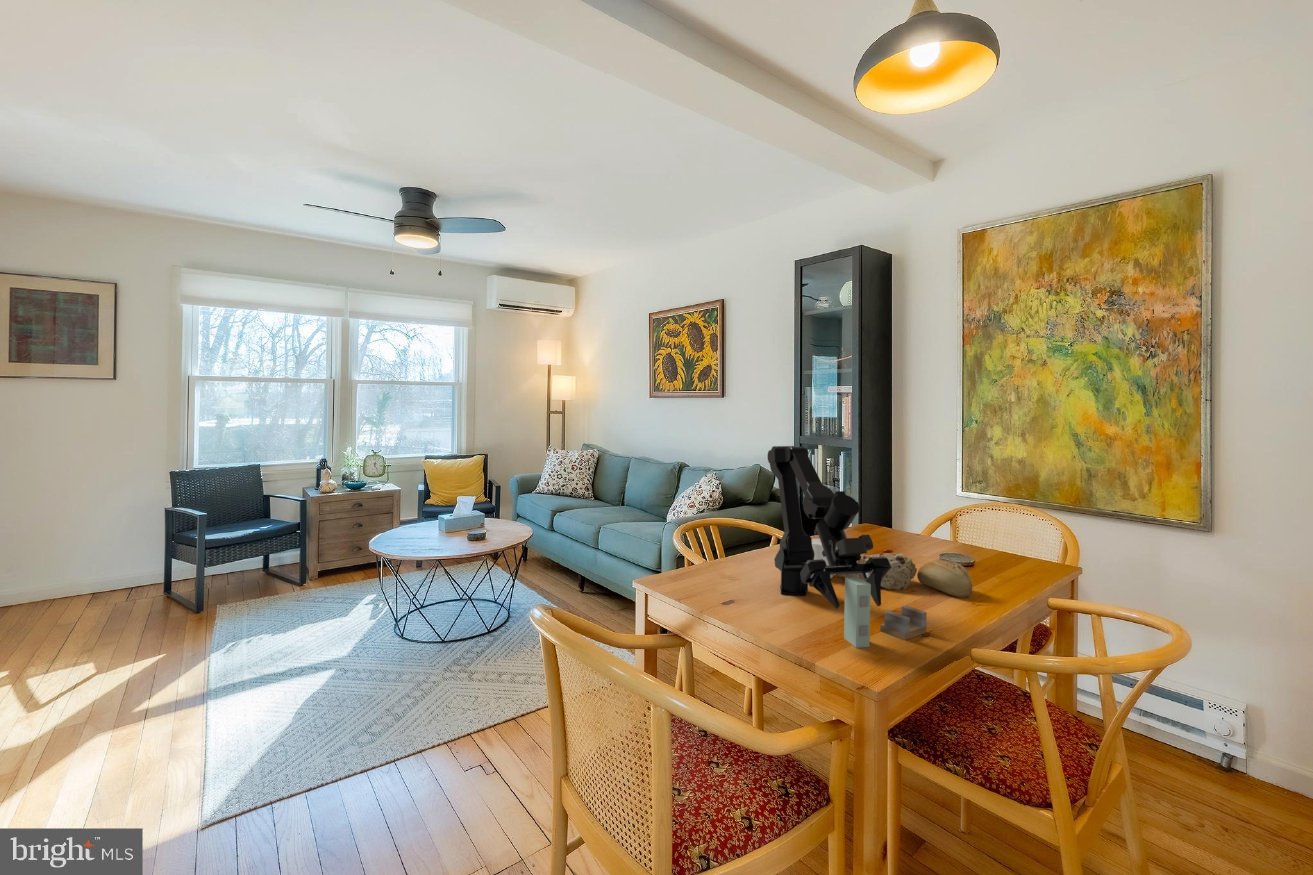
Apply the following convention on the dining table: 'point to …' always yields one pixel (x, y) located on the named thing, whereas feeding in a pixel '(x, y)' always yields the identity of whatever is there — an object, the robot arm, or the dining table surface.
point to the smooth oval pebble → (946, 577)
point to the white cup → (819, 551)
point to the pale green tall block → (857, 612)
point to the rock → (891, 571)
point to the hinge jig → (904, 623)
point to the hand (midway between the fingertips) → (858, 606)
